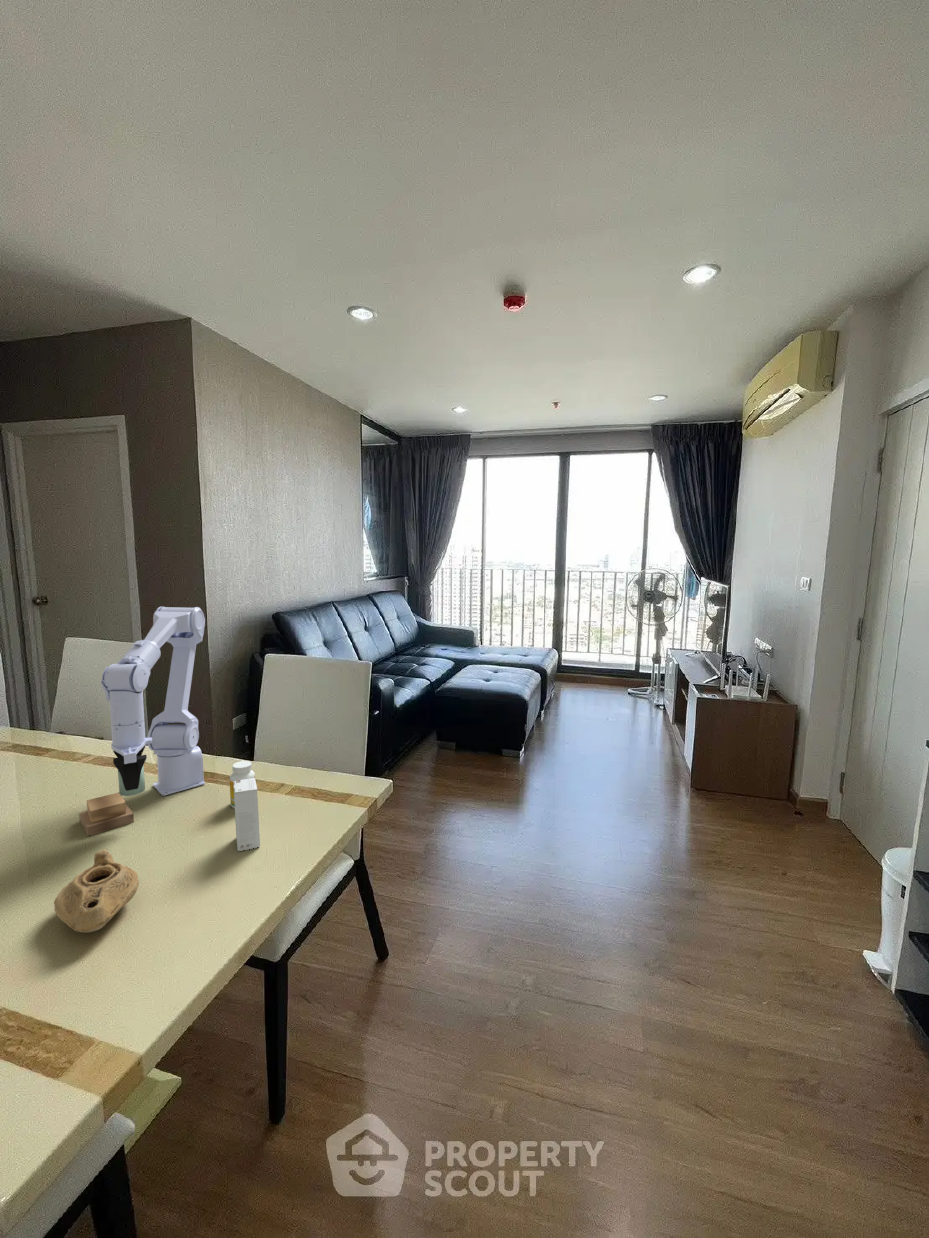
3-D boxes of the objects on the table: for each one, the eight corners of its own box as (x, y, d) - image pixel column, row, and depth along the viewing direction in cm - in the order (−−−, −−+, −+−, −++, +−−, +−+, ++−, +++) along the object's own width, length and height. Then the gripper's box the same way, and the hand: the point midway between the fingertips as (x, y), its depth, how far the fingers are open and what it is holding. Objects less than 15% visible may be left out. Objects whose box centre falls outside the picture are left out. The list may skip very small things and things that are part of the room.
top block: (121, 802, 113) (120, 791, 112) (126, 813, 108) (125, 802, 108) (87, 811, 109) (86, 800, 108) (91, 822, 104) (90, 811, 104)
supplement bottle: (236, 798, 120) (235, 759, 119) (259, 798, 120) (258, 759, 119) (226, 809, 115) (225, 768, 114) (250, 809, 115) (249, 769, 114)
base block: (124, 810, 114) (123, 800, 114) (134, 824, 109) (133, 813, 108) (79, 823, 108) (79, 812, 108) (88, 838, 103) (87, 827, 103)
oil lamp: (57, 962, 72) (53, 909, 71) (54, 904, 83) (50, 858, 82) (148, 927, 79) (145, 879, 78) (133, 878, 90) (131, 836, 89)
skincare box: (260, 847, 100) (259, 788, 99) (235, 852, 99) (234, 793, 97) (258, 832, 106) (257, 776, 104) (234, 836, 104) (233, 780, 103)
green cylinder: (144, 784, 110) (143, 762, 109) (145, 792, 106) (143, 769, 105) (119, 789, 107) (118, 766, 107) (119, 797, 104) (117, 774, 103)
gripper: (152, 728, 101) (156, 793, 103) (149, 709, 113) (152, 767, 115) (109, 734, 97) (113, 802, 99) (110, 713, 109) (114, 774, 111)
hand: (131, 784), depth 107 cm, fingers closed on green cylinder, 4 cm apart
